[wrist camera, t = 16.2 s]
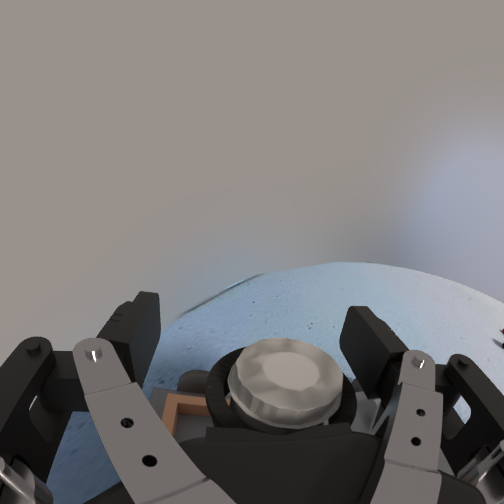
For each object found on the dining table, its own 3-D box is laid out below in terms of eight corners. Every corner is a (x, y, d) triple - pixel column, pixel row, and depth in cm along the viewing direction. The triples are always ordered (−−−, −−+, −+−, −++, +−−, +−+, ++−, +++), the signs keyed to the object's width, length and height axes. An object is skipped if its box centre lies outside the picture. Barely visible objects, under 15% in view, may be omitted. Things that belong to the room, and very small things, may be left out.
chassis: (388, 392, 22) (404, 362, 21) (461, 519, 6) (496, 495, 5) (160, 394, 20) (156, 360, 19) (125, 575, 4) (102, 571, 3)
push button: (245, 424, 16) (274, 299, 13) (315, 456, 13) (382, 338, 10) (182, 487, 10) (170, 374, 7) (265, 533, 8) (343, 463, 5)
